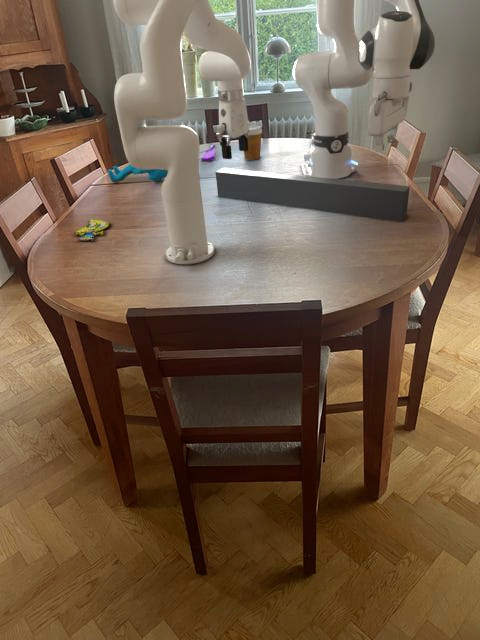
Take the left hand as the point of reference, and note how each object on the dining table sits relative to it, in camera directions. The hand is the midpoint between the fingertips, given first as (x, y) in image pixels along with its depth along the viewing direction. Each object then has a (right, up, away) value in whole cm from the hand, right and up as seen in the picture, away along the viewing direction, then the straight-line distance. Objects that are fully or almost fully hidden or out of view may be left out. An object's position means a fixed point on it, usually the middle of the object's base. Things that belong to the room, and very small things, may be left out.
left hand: (235, 154), depth 152 cm
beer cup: (+7, +15, +47) cm, 50 cm away
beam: (+21, -17, -4) cm, 28 cm away
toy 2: (-34, +1, +32) cm, 47 cm away
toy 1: (-43, -26, -8) cm, 51 cm away
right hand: (+40, -7, -26) cm, 48 cm away
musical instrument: (-16, +19, +57) cm, 62 cm away
